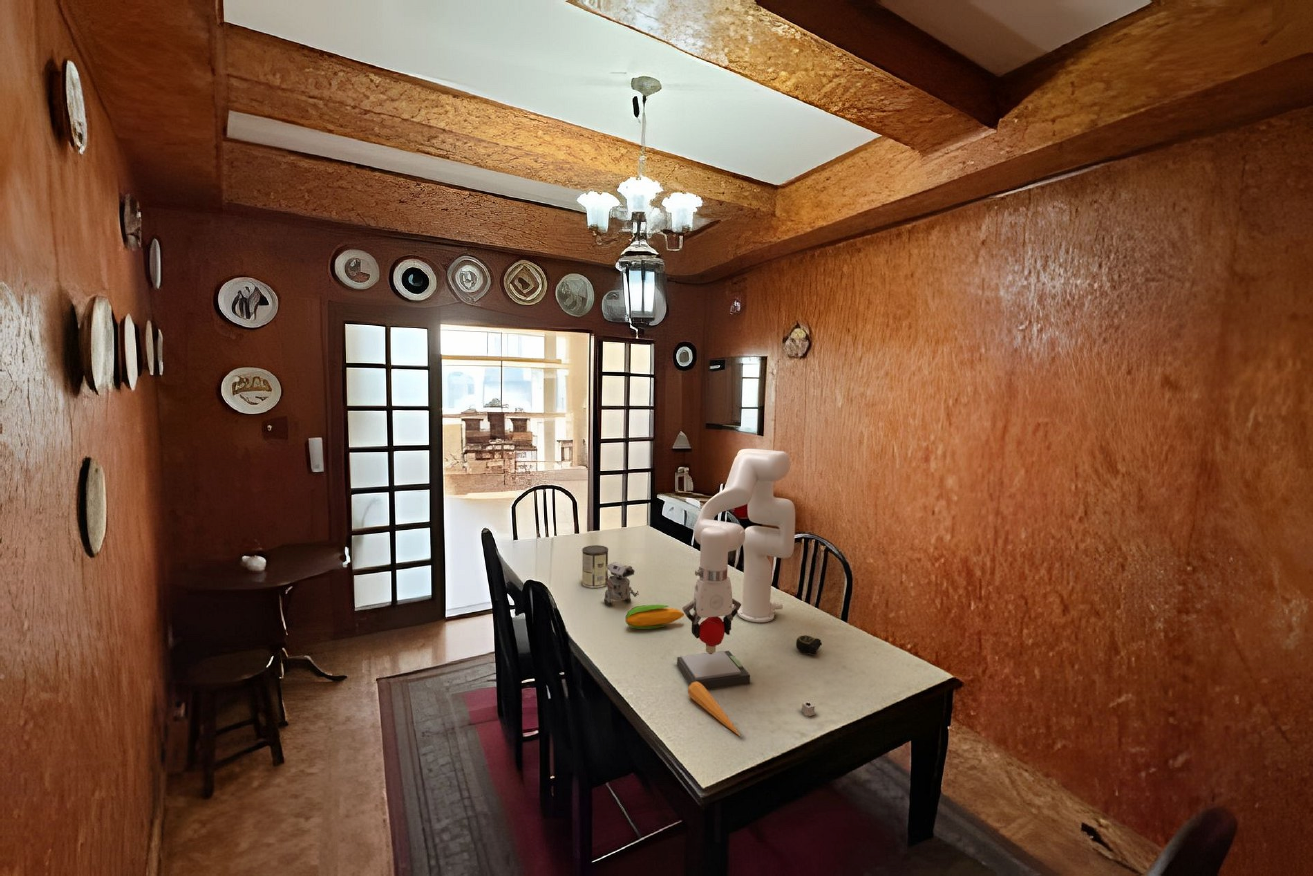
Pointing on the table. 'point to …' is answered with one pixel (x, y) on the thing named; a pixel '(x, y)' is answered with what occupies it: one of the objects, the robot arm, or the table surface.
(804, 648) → the tape measure
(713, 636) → the red rounded piece
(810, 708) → the white block with hole
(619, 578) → the figurine
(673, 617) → the corn
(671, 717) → the table surface
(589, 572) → the coffee can
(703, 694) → the carrot
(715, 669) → the scale
